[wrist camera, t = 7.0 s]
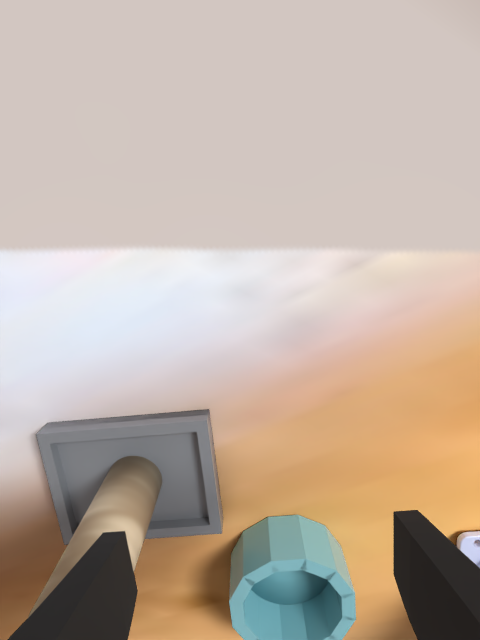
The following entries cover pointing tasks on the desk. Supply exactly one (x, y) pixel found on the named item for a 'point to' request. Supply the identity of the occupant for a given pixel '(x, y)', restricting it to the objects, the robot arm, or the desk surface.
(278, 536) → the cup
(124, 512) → the pin
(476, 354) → the desk surface
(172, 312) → the desk surface
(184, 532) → the tray
